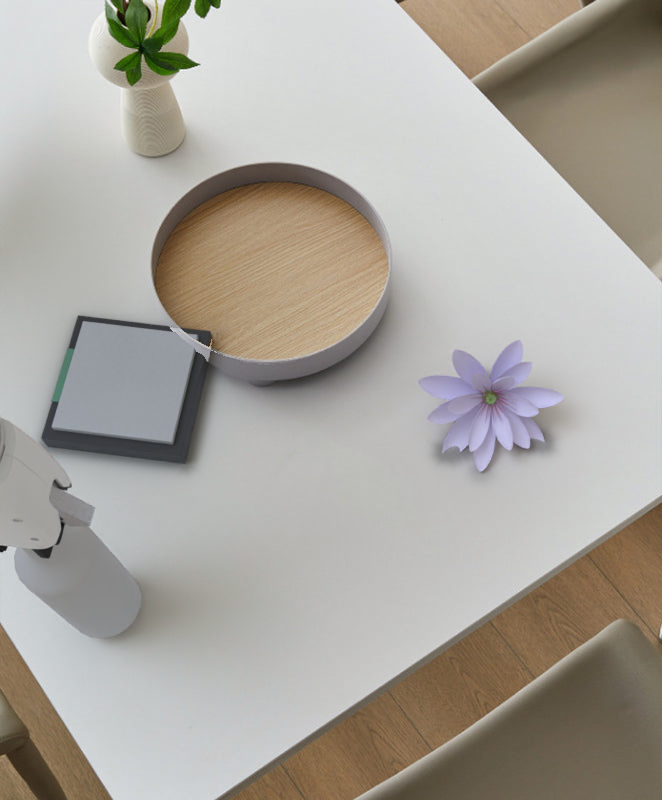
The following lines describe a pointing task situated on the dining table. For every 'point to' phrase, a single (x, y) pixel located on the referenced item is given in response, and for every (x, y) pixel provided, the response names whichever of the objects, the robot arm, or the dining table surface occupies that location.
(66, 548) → the bottle
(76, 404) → the scale
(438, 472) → the dining table surface
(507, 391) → the water lily
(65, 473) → the robot arm
